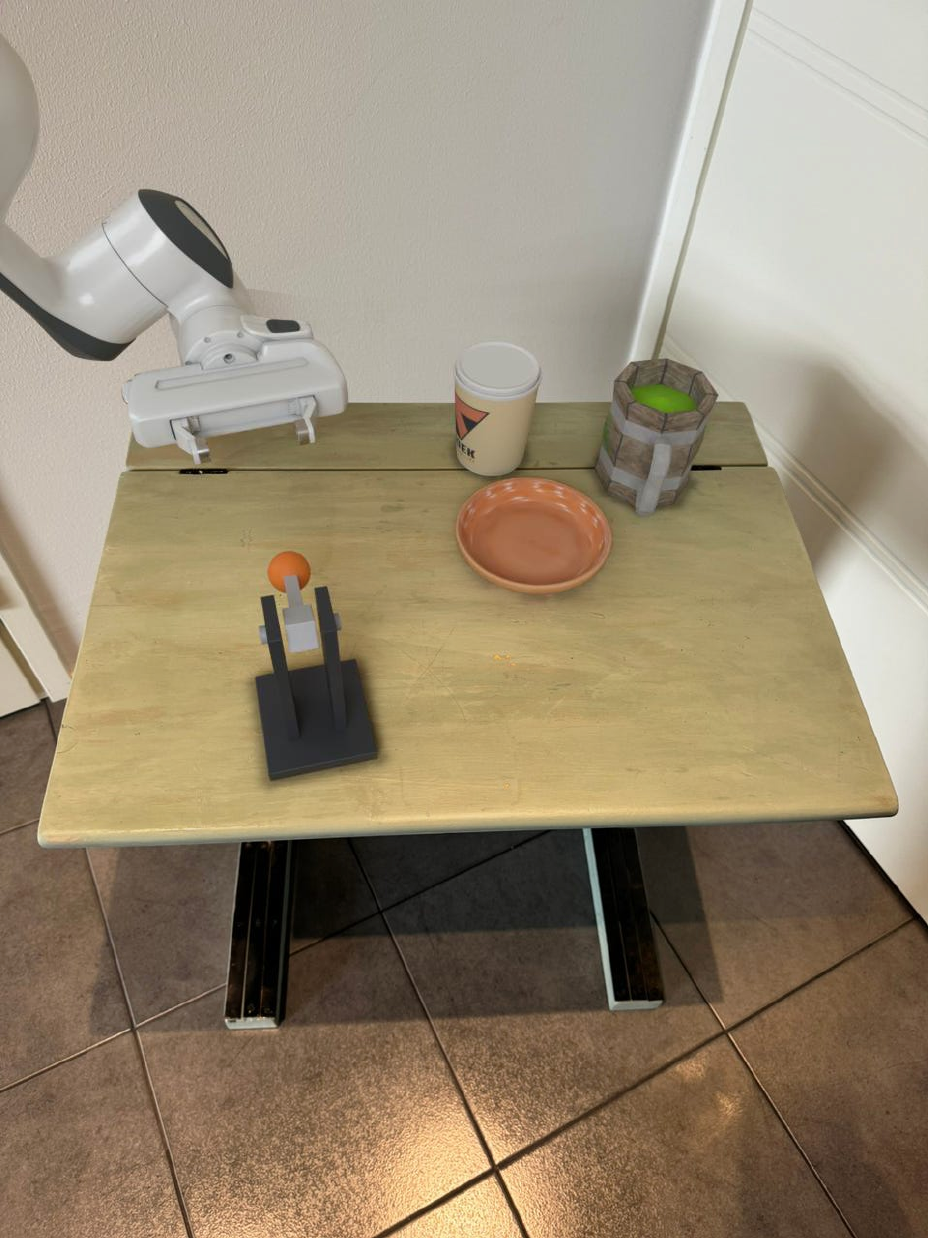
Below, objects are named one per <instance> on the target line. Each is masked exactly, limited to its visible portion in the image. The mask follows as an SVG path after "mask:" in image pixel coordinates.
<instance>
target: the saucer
mask: <svg viewBox="0 0 928 1238" xmlns="http://www.w3.org/2000/svg"><path fill="white" fill-rule="evenodd" d="M455 539H456V544H457V546H458V549H459V551H460V554H461V556H462V557H463V559H464V561H465V562H466V563H467V565H468V566H469V567H470V568H471V570H473V571H474V572H475V573H476V574H478V575H479V576H480V577H482V578H483V579H484V580H486V581H488V582H490V583H491V584H494V585H496V586H498V587H500V588H503V589H506V590H509V591H512V592H516V593H520V594H521V593H522V594H529V595H546V594H556V593H561V592H565V591H569V590H572V589H574V588H577V587H579V586H581V585H583V584H585V583H586V582H588V581H590V580H591V579H592V578H593V577H595V576H596V575H597V574H598V572H600V570H601V569H602V568H603V566H604V565H605V563H606V561H607V559H608V557H609V555H610V553H611V549H612V545H613V544H612V543H613V535H612V528H611V525H610V523H609V520H608V519H607V516H606V515H605V513H604V511H603V510H602V509H601V508H600V507H599V506H598V504H597V503H596V502H594V501H593V499H591V498H590V497H589V496H587V495H586V494H585V493H583V492H581V491H580V490H578V489H576V488H574V487H572V486H570V485H568V484H565V483H563V482H559V481H556V480H553V479H547V478H541V477H532V476H531V477H529V476H525V477H522V476H520V477H511V478H506V479H502V480H498V481H495V482H493V483H490V484H488V485H485V486H483V487H482V488H480V489H478V490H477V491H476V492H474V493H473V494H472V495H470V496H469V497H468V498H467V499H466V501H465V502H464V503H463V504H462V506H461V508H460V510H459V512H458V514H457V517H456V520H455Z"/></svg>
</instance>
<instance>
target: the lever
mask: <svg viewBox="0 0 928 1238" xmlns="http://www.w3.org/2000/svg"><path fill="white" fill-rule="evenodd" d="M311 573H312V572H311V566H310V563H309V561H308V560H307V558H306V557H305V556H304V555H302V554H301V553H299V552H297V551H292V550H287V551H282V552H280V553H277V554H276V555H275V556H273V557H272V558H271V560H270V562H269V563H268V568H267V579H268V580H269V582H270V584H271V585H272V587H273V588H274V589H276V590H277V591H279V592H280V593H284V594H286V598H287V604H288V607H284V608H281V611H282V617H283V624H284V629H285V635H286V640H287V645H288V651H289V654H293V653H301V652H304V651H310V650H316V649H319V648H320V643H319V638H318V637H319V636H318V630H317V625H316V624H317V623H316V618H315V615H314V614H315V613H314V611H313V610H314V609H313V606H312V604H311V603H308V604H304V601H303V597H302V592H301V591H302V590H303V589H304V588H306V586H307V585H308V584H309V582H310V579H311Z"/></svg>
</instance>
